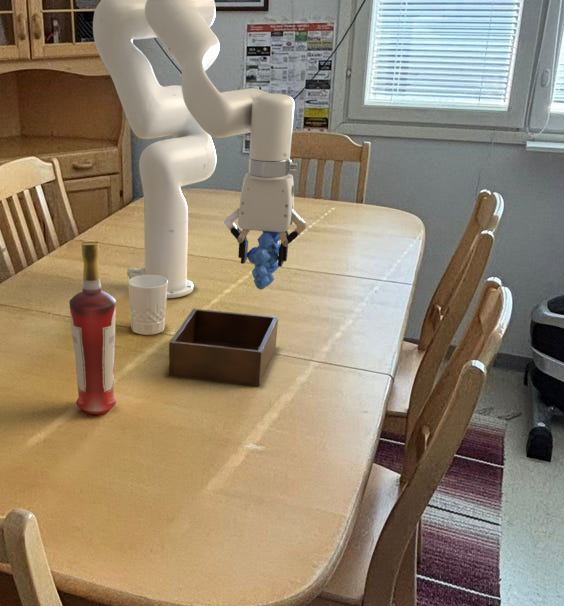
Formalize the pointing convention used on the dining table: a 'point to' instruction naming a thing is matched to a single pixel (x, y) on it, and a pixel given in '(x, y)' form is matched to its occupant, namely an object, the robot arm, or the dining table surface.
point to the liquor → (93, 337)
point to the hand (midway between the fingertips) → (262, 262)
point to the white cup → (147, 303)
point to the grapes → (265, 259)
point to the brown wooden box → (223, 347)
